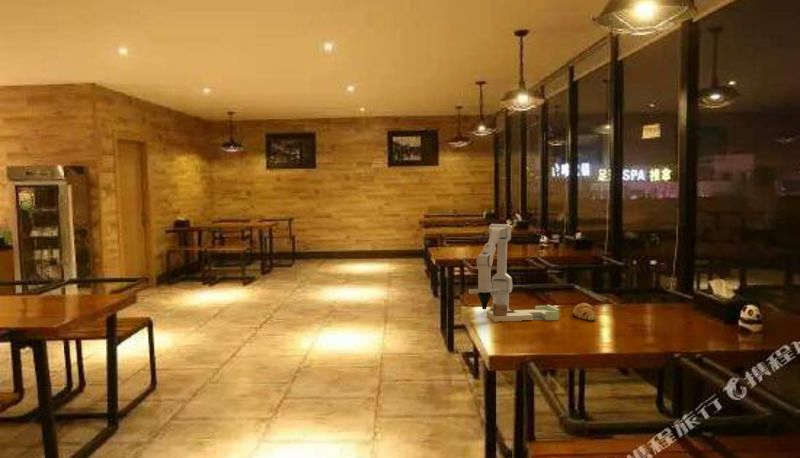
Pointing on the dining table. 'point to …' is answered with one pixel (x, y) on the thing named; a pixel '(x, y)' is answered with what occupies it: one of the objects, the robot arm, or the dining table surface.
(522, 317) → the board
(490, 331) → the dining table surface
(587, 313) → the croissant
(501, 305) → the walnut block
